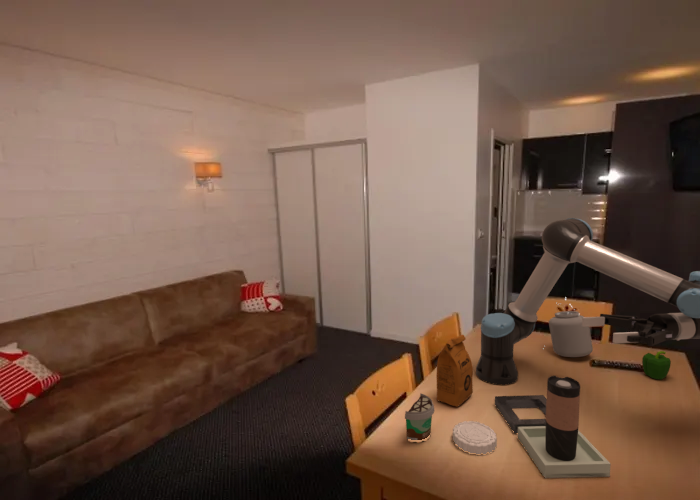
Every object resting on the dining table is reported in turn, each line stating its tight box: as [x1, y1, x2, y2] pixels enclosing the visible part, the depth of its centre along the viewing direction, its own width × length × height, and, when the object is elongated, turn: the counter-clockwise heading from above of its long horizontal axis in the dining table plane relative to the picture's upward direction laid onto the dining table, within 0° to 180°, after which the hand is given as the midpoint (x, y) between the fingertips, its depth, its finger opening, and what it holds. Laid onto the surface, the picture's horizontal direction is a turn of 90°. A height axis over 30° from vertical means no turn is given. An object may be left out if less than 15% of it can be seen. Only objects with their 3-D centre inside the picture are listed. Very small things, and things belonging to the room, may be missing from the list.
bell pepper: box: [641, 350, 672, 381], centre depth 144 cm, size 8×8×10 cm
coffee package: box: [435, 334, 474, 407], centre depth 133 cm, size 10×12×22 cm
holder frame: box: [494, 394, 547, 434], centre depth 121 cm, size 16×16×3 cm
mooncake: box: [452, 420, 498, 454], centre depth 110 cm, size 12×12×4 cm
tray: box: [517, 426, 612, 479], centre depth 103 cm, size 16×16×4 cm
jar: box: [542, 296, 594, 358], centre depth 165 cm, size 19×15×25 cm
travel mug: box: [545, 375, 581, 461], centre depth 102 cm, size 8×8×20 cm
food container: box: [404, 393, 436, 440], centre depth 113 cm, size 12×6×10 cm, turn 148°
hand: (597, 329), depth 112 cm, fingers open, 13 cm apart
